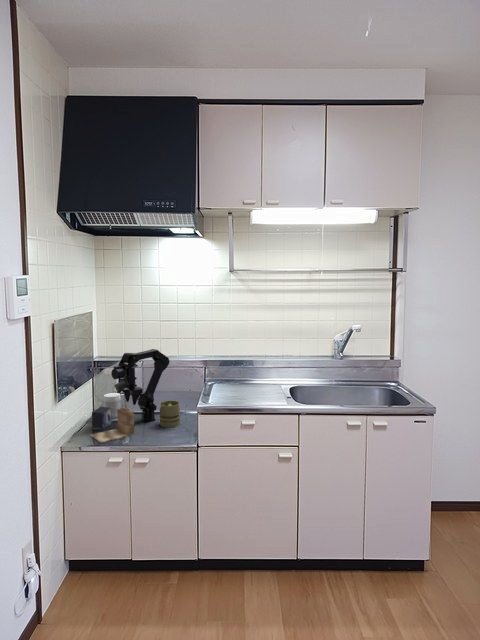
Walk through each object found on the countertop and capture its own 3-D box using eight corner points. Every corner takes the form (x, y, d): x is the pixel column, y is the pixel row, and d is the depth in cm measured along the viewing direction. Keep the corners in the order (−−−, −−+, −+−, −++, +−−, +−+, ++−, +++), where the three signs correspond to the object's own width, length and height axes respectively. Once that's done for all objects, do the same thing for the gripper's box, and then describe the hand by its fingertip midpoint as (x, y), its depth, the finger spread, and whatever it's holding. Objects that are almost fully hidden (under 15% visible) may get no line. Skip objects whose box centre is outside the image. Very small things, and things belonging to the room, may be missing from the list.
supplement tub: (124, 419, 275) (123, 394, 274) (109, 423, 269) (108, 397, 267) (116, 415, 282) (115, 391, 281) (101, 419, 276) (100, 394, 274)
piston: (179, 400, 272) (180, 405, 260) (179, 420, 273) (180, 426, 262) (159, 401, 270) (159, 406, 259) (160, 421, 271) (159, 427, 260)
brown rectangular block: (127, 428, 259) (126, 407, 258) (134, 433, 252) (134, 411, 251) (117, 430, 256) (117, 409, 254) (125, 435, 249) (124, 413, 247)
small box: (102, 431, 255) (102, 412, 254) (91, 430, 256) (91, 411, 255) (111, 425, 265) (111, 406, 264) (101, 424, 267) (100, 406, 265)
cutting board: (115, 430, 257) (115, 429, 257) (126, 436, 247) (126, 435, 247) (90, 435, 248) (90, 434, 248) (100, 442, 238) (100, 441, 238)
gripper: (108, 375, 262) (110, 402, 264) (123, 381, 248) (124, 410, 250) (127, 372, 269) (128, 398, 271) (142, 377, 255) (143, 406, 257)
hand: (130, 403), depth 262 cm, fingers open, 8 cm apart
